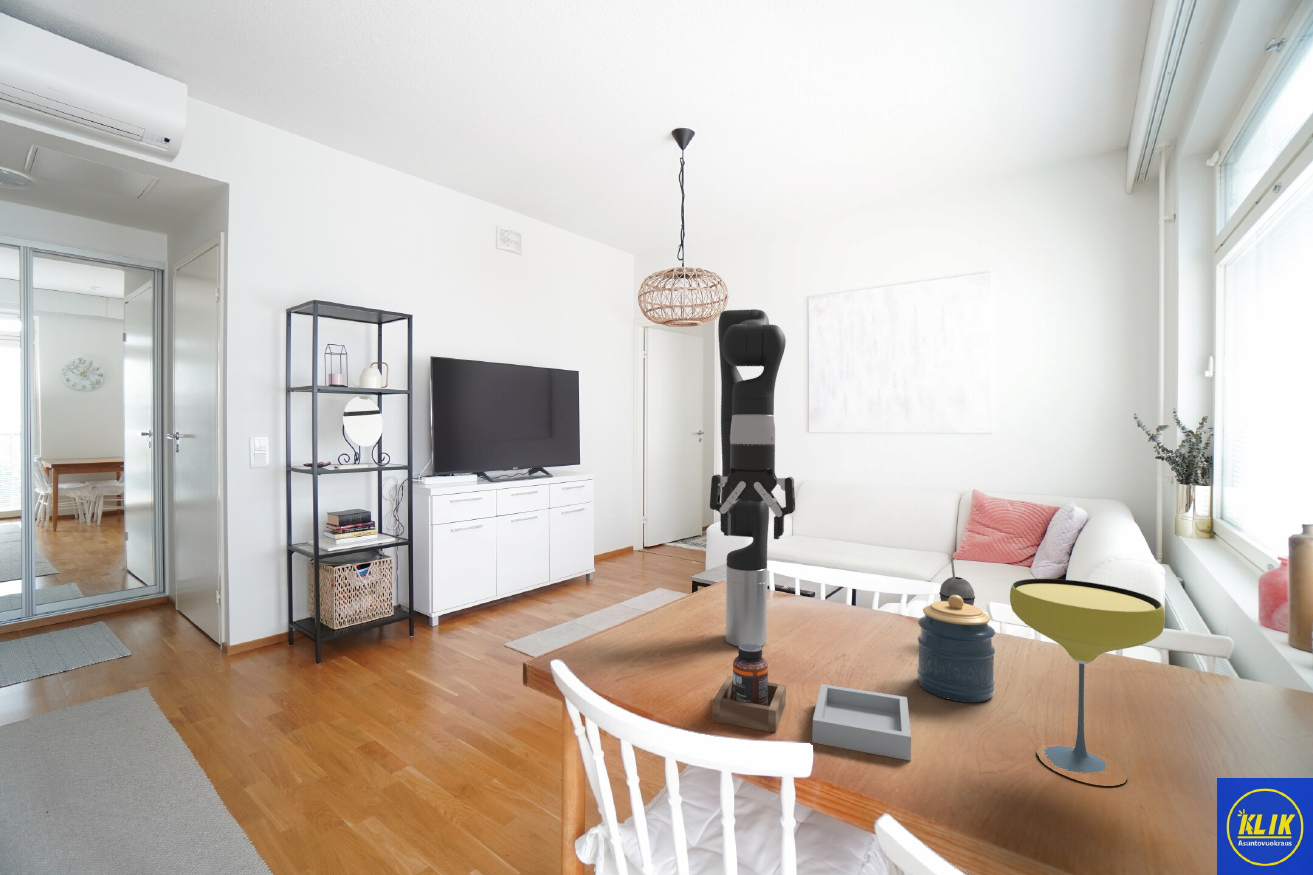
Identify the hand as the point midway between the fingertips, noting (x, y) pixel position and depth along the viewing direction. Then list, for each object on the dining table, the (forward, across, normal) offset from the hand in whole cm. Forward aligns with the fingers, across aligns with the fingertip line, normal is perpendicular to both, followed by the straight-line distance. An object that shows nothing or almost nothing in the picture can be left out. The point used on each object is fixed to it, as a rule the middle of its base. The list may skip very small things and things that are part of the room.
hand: (751, 536), depth 101 cm
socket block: (+30, 0, 0) cm, 30 cm away
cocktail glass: (+30, -48, -2) cm, 57 cm away
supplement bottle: (+30, 0, 0) cm, 30 cm away
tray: (+30, -18, -1) cm, 35 cm away
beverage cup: (+30, -37, -49) cm, 69 cm away
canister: (+30, -34, -24) cm, 52 cm away
